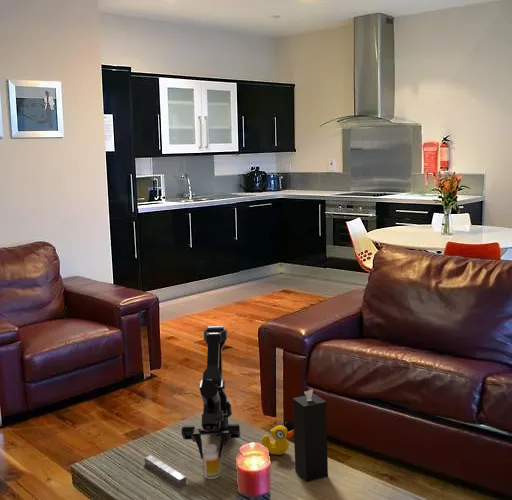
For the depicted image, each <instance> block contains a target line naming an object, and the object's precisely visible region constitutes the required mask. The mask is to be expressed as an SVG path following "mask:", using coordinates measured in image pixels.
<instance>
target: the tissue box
mask: <svg viewBox="0 0 512 500" xmlns="http://www.w3.org/2000/svg"><path fill="white" fill-rule="evenodd" d="M313 392H314V389H309V390H307V391H304V395H302V396H298V397H292V411H293V414H292V415H293V429H294V435H293V440H294V441H293V442H294V443H293V444H294V445H293V446H294V467H295V468H294V470H295V473H296V474H297V475H299V477H301V478H302V479H303V480H304V482H312V481H317V480H318V479H323V478H327V477H329V468H328V467H329V466H328V463H329V461H328V429H327V427H328V425H327V407H328V405H327V401H326V400H324V399H323V398H321V396H319V395H317V394H315V393H313Z"/></svg>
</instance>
